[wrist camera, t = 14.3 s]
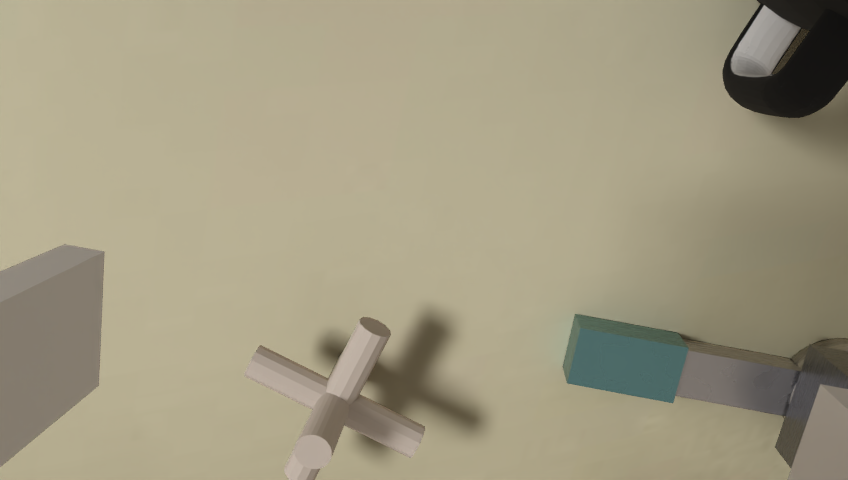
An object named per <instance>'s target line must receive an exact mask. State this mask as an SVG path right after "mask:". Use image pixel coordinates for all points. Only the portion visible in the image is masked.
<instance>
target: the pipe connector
mask: <svg viewBox="0 0 848 480" xmlns="http://www.w3.org/2000/svg"><path fill="white" fill-rule="evenodd" d="M390 335H391V333H390V330H389V329H388V328H387V327H386V326H385V325H384V324H382V323H381V322H379V321H378V320H375V319H372V318H368V317H362V318H361V319H359V321H358V323H357V325H356V327H355V329H354V331H353V333H352V335H351V337H350V339H349V341H348V343H347V345H346V347H345V349H344V351H343V352H342V353H341V355H340V356H339V358H338V360H337V362H336V364H335V366H334V368H333V370H332V372H331V374H330V376H329V378H326V377H324V376H322V375H320V374H318V373H316V372H314V371H312V370H310V369H308V368H306V367H304V366H302V365H300V364H298V363H296V362H294V361H292V360H290V359H288V358H286V357H284V356H282V355H279V354H277V353H275V352H273V351H271V350H269V349H267V348H265V347H263V346H261V345H260V346H259V347H258V349H257V350H256V352H255V354H254V355H253V357H252V359H251V361H250V363H249V364H248V366H247V369H246V371H245V373H244V376H245V377H247V378H249V379H251V380H254V381H256V382H258V383H260V384H262V385H264V386H266V387H268V388H270V389H272V390H274V391H276V392H278V393H280V394H282V395H284V396H286V397H288V398H290V399H292V400H294V401H296V402H298V403H300V404H302V405H304V406H306V407H308V408H310V409H312V412H311V414H310V416H309V418H308V420H307V422H306V424H305V426H304V428H303V430H302V432H301V434H300V436H299V438H298V440H297V442H296V444H295V447H294V449H293V451H292V453H291V455H290V457H289V459H288V461H287V463H286V465H285V470H284V472H285V474H286V476H287V477H288V479H290V480H315V478H316V476H317V474H318V472H319V470H320V468H322V467H324V466H326V465H327V464H328V463H329V461H330V460H331V457H332V455H333V452H334V450H335V447H336V444H337V442H338V439H339V437H340V434H341V432H342V429H343V427H344V425H345V426H347V427H349V428H351V429H353V430H355V431H357V432H359V433H361V434H363V435H365V436H367V437H369V438H371V439H373V440H375V441H377V442H379V443H381V444H383V445H385V446H387V447H389V448H391V449H393V450H395V451H397V452H399V453H401V454H403V455H405V456H407V457H409V458H411V457H412V456H413V455H414V453H415V452H416V450H417V448H418V446H419V444H420V442H421V440H422V437H423V434H424V431H425V426H423V425H421V424H419V423H417V422H415V421H413V420H411V419H408V418H406V417H404V416H402V415H400V414H398V413H396V412H394V411H392V410H390V409H388V408H386V407H384V406H382V405H380V404H378V403H376V402H374V401H372V400H370V399H368V398H366V397H364V396H362V395H360V392H361V390H362V388H363V386H364V385H365V383H366V381H367V379H368V377H369V375H370V373H371V371H372V369H373V367H374V366H375V364H376V362H377V360H378V358H379V356H380V354H381V352H382V350H383V348H384V347H385V345H386V343H387V341H388V339H389V337H390Z"/></svg>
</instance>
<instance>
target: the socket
mask: <svg viewBox="0 0 848 480" xmlns="http://www.w3.org/2000/svg"><path fill="white" fill-rule="evenodd" d="M820 384H822V385H828V386H833V387H839V388H844V389H848V351H844V350H838V349H833V348H827V347H822V346H816V345H811V344H810V345H809V348H808V351H807V354H806V357H805V360H804V363H803V366H802V369H801V372H800V375H799V378H798V381H797V384H796V387H795V390H794V393H793V396H792V399H791V402H790V405H789V408H788V411H787V414H786V416H785V419H784V422H783V425H782V428H781V431H780V434H779V437H778V440H777V443H776V446H775V448H776V449H777V451H778V452H779V453H780V454H781V456H782V457H783V458H784V460H785V461H786V462H787V464H788V465H789V466H790V468H792V465H793V462H794V459H795V456H796V453H797V450H798V447H799V445H800V442H801V439H802V436H803V433H804V430H805V427H806V424H807V421H808V419H809V416H810V413H811V410H812V407H813V404H814V401H815V398H816V395H817V393H818V390H819V387H820Z"/></svg>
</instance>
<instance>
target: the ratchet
mask: <svg viewBox="0 0 848 480" xmlns="http://www.w3.org/2000/svg"><path fill="white" fill-rule="evenodd" d="M812 345H816V346H822V347H827V348H833V349H838V350H844V351H848V339H845V338H835V339H827V340H823V341H819V342H817V343H814V344H812ZM808 348H809V346H807V347H806V348H804V349H803V350H801V351H799V352H798V353H797V354H796V355H795V356H793V357H792V358H791V360H790V359H789V358H785V357H779V356H774V355H769V354H763V353H758V352H752V351H747V350H741V349H736V348H731V347H725V346H720V345H714V344H709V343H703V342H698V341H692V340H687V339H682V338H681V336H680V335H679V334H678V333H676V332H671V331H665V330H660V329H654V328H649V327H643V326H638V325H632V324H627V323H621V322H616V321H611V320H605V319H600V318H594V317H589V316H583V315H578V314H575V317H574V321H573V326H572V330H571V334H570V338H569V343H568V347H567V351H566V355H565V360H564V364H563V369H564V373H565V377H566V381H567V383H568V384H574V385H579V386H584V387H590V388H595V389H600V390H606V391H611V392H616V393H622V394H627V395H632V396H638V397H643V398H648V399H654V400H659V401H664V402H669V403H673V402H674V398H675V396H680V397H685V398H691V399H696V400H701V401H707V402H712V403H717V404H723V405H728V406H733V407H739V408H744V409H749V410H755V411H760V412H765V413H771V414H776V415H781V416H783V417H784V419H785V416H786V414H787V411H788V408H789V405H790V402H791V399H792V396H793V393H794V390H795V387H796V384H797V381H798V378H799V375H800V372H801V369H802V366H803V363H804V360H805V357H806V354H807V351H808Z"/></svg>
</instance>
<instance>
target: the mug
mask: <svg viewBox="0 0 848 480" xmlns="http://www.w3.org/2000/svg"><path fill="white" fill-rule="evenodd" d="M757 1H758V2H760V3H761V4H760V6H759V7H758V9H757V10H756V12H755V13H754V15H753V16H752V18H751V19H750V21H749V22H748V24H747V25H746V27H745V28H744V30H743V31H742V33H741V34H740V36H739V38H738V39H737V41H736V42H735V44H734V46H733V47H732V49H731V51H730V52H729V54H728V56H727V58H726V60H725V63H724V67H723V81H724V85H725V89H726V90H727V92H728V93H729V95H730V97H732V98H733V99H734V100H735V101H736V102H737V103H738V104H740V105H741V106H742V107H745V108H747V109H749V110H752V111H754V112H758V113H762V114H766V115H772V116H779V117H788V118H800V117H804V116H807V115H810V114H812V113H814V112H816V111H818V110H820V109H821V108H823V107H824V106H826V105H827V104H828V103H829V102H830V101H831V100H832V99H833V98H834V97H835V95H836V94H837V93H838V92H839V90H840V89H841V88H842V87H843V86H844V84H845V83H846V82H847V81H848V0H757ZM802 28H803V29H807V30H810V31H809V33H808V34H807V36H806V37H805V38H804V40H803V41H802V43H801V44H800V45H799V47H798V48H797V50H796V51H795V52H794V54H793V55H792V57H791V58H790V59H789V61H788V62H787V64H786V65H785V66H784V67H783V68H782V69H781V70H780V71H779V72H778V73H776V74H773V75H771V74H772V73H773V71H774V70H775V68H776V67H777V65H778V63H779V62H780V60H781V59H782V57H783V56H784V54H785V53H786V51H787V50H788V48H789V47H790V45H791V44H792V42H793V41H794V39H795V38H796V36H797V35H798V33H799V32H800V30H801V29H802Z"/></svg>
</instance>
